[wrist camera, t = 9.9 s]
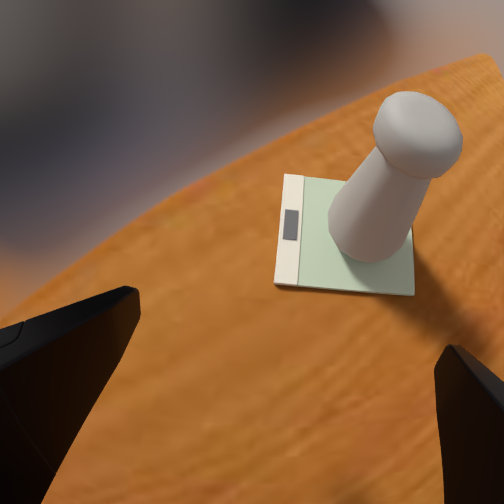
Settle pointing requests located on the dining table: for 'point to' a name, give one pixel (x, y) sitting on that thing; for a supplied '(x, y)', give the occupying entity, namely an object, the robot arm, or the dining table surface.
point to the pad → (330, 246)
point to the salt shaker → (394, 176)
